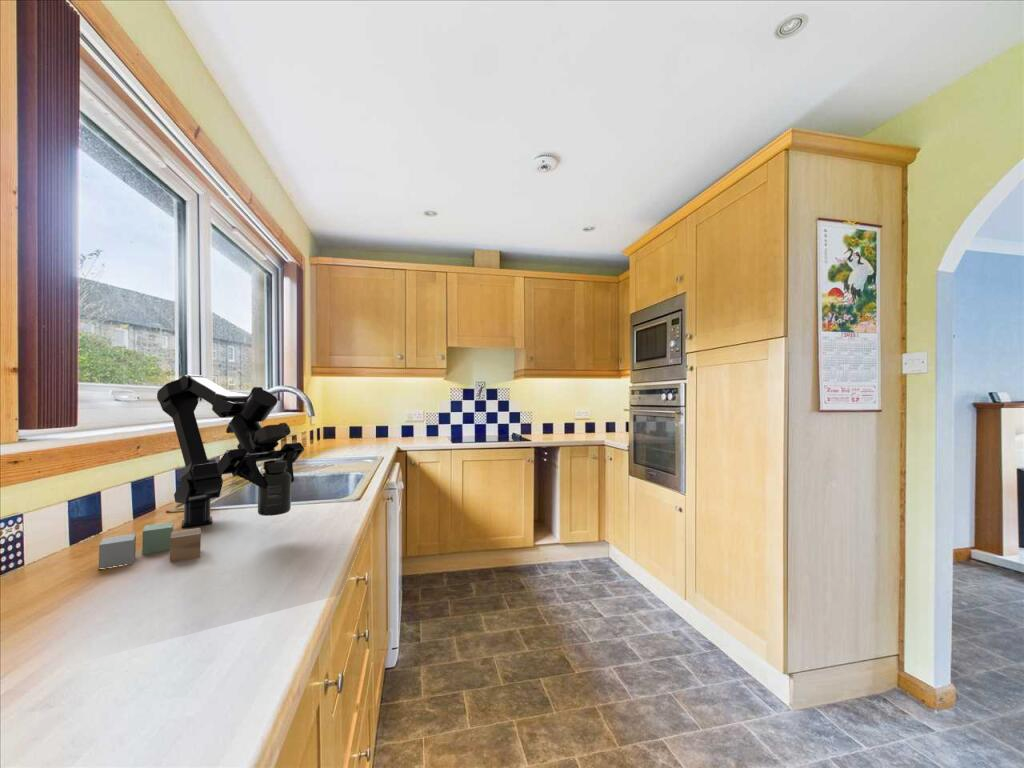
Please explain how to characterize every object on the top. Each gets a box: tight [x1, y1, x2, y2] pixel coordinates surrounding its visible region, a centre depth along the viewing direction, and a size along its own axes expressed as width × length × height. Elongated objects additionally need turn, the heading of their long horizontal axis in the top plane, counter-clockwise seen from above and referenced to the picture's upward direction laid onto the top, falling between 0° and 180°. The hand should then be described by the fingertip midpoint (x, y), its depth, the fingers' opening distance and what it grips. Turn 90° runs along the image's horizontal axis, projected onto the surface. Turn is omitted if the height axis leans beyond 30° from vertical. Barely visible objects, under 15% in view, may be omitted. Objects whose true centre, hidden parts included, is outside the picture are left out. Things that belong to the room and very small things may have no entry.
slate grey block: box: [98, 533, 137, 569], centre depth 87 cm, size 5×5×5 cm
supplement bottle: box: [257, 459, 292, 517], centre depth 101 cm, size 7×7×12 cm
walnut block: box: [169, 527, 202, 563], centre depth 91 cm, size 5×5×5 cm
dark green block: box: [141, 521, 174, 555], centre depth 95 cm, size 5×5×5 cm
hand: (279, 484), depth 100 cm, fingers closed on supplement bottle, 7 cm apart
